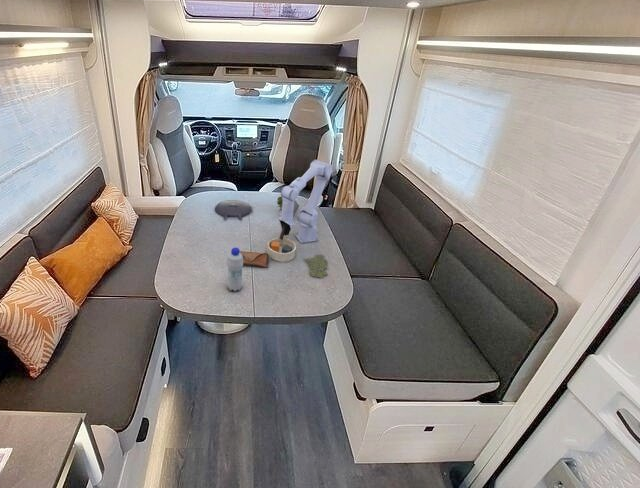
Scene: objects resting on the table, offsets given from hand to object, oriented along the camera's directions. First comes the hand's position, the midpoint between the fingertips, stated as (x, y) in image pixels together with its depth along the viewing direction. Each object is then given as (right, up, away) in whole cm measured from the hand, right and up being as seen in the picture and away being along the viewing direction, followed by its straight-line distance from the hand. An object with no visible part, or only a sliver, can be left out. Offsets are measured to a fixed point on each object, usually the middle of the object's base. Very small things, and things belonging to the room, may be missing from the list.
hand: (285, 233), depth 159 cm
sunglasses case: (-18, -13, -7) cm, 24 cm away
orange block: (-5, -9, +2) cm, 11 cm away
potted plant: (+6, +7, +41) cm, 42 cm away
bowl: (-2, -10, 0) cm, 10 cm away
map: (+13, -14, -8) cm, 21 cm away
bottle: (-25, -20, -24) cm, 40 cm away
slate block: (0, -10, -1) cm, 10 cm away
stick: (-2, -3, +1) cm, 4 cm away
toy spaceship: (-27, +8, +42) cm, 51 cm away
